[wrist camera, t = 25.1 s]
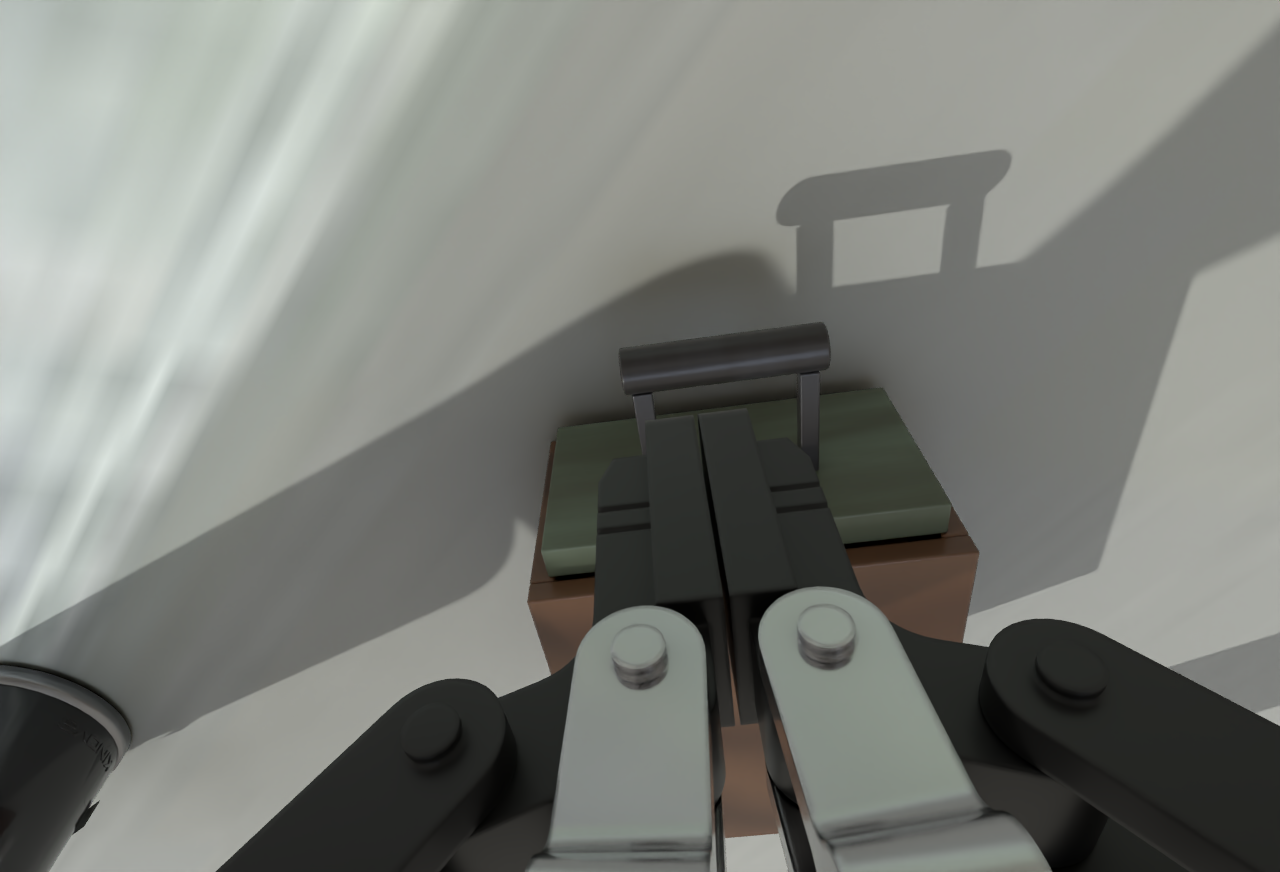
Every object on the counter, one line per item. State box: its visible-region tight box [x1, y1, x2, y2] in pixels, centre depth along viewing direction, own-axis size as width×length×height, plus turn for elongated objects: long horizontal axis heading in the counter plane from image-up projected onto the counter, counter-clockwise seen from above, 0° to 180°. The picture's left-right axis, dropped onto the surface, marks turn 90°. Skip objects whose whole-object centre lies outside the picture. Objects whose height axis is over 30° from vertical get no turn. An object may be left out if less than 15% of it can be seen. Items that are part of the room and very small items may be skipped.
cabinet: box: [527, 441, 979, 838], centre depth 29 cm, size 16×14×9 cm
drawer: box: [541, 322, 952, 578], centre depth 27 cm, size 20×12×7 cm, turn 8°
